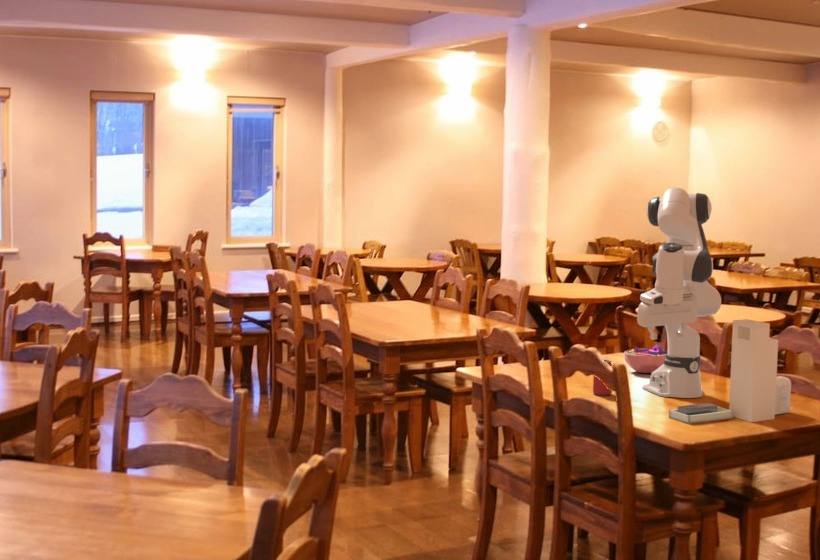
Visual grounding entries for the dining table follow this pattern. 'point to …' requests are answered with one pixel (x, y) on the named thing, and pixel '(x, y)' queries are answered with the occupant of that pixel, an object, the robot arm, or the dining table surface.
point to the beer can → (600, 385)
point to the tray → (701, 416)
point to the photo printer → (782, 395)
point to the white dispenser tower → (753, 371)
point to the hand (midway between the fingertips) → (666, 338)
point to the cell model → (645, 358)
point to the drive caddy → (698, 409)
